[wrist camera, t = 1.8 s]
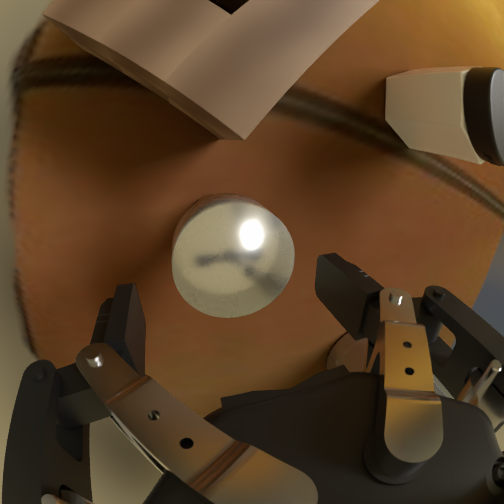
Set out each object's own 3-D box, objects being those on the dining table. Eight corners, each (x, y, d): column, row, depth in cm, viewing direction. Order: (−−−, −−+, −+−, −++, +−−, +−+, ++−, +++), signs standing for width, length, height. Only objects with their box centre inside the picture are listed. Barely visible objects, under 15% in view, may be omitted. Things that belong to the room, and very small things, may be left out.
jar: (395, 158, 24) (495, 186, 13) (369, 81, 20) (477, 73, 10) (441, 131, 24) (527, 150, 14) (421, 66, 20) (512, 64, 10)
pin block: (323, 27, 17) (380, -1, 10) (219, 139, 19) (244, 139, 12) (201, -56, 11) (216, -108, 4) (82, 48, 13) (41, 13, 6)
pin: (262, 204, 22) (316, 248, 14) (218, 261, 23) (245, 333, 15) (203, 159, 20) (223, 177, 11) (158, 223, 21) (148, 284, 12)
